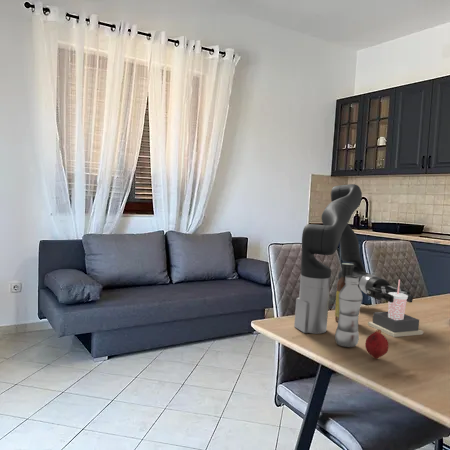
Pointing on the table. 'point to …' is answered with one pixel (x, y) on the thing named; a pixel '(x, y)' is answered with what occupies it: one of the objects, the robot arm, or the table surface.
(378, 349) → the onion
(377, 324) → the grey tray on board
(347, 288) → the plastic bottle
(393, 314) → the beverage cup
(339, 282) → the sauce bottle
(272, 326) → the table surface
